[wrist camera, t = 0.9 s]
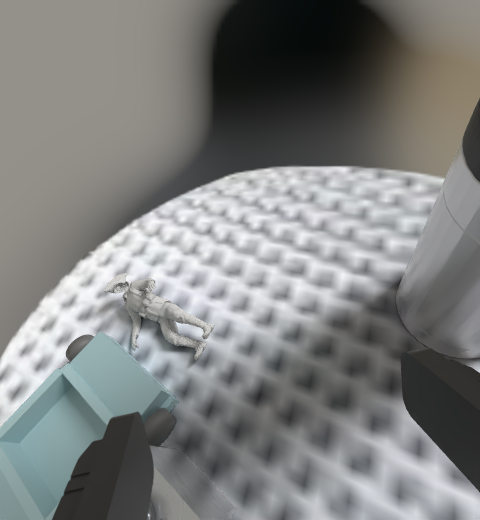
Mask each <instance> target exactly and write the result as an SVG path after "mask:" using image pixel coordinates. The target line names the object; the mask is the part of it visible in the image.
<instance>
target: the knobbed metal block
mask: <svg viewBox="0 0 480 520" xmlns="http://www.w3.org/2000/svg"><path fill="white" fill-rule="evenodd" d="M150 449H151V452H152V457H153V464H154V479H153V486H152V493H151V500H150V507H149V513H148V520H230V519H231V517H232V516H233V514H234V512H235V511H236V509H237V507H236V506H235V505H234V504H233V503H232V502H231V501H230V500H229V499H228V498H227V497H226V496H225V495H224V494H223V493H222V492H221V491H220V490H219V488H218V487H217V486H216V485H215V484H214V483H213V482H212V481H211V480H210V479H209V478H208V477H207V476H206V475H205V474H204V473H203V472H202V471H201V470H200V469H199V468H198V467H197V465H196V464H195V463H194V462H193V461H192V460H191V459H190V458H189V457H188V456H187V455H186V454H185V453H184V452H183V451H180V450H174V449H168V448H162V447H157V446H151V445H150Z"/></svg>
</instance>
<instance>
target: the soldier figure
mask: <svg viewBox="0 0 480 520" xmlns="http://www.w3.org/2000/svg"><path fill="white" fill-rule="evenodd" d="M125 277H126V273H124V274H121V275H118V276H116V277H115V278H114V279H112V281H111V282H109V283H108V285H107V287H106V289H105V292H111V293H122V292H124V291H125V293H124V295H123V301H124V302H125V308H126V309H127V311H128V313H129V315H130V316H131V318H132V321H133V330H132V339H131V340H132V342H131V346H132V349H133V351H135V349H136V348H135V347H136V346H137V347H139V346H138V344H137V341H136V338H137V337H138V336H139V331H140V327H141V317H143V318H145V319H146V318H148V319H150V320H153V321H155V322H156V323H160V326H161V331H162V333H163V335H164V337H165V339H166V340H167V341H168V342H170V343H172V344H174V345H176V346H188V347H191V348H195V350H196V354H195V355H194V359H195V360H197V359H198V358H199V357H200V356H201V354H202V351H204V349H205V347H206V343H204V342H198V341H196V340H193V339H190V338H187V337H185V336H183V335H178V333H177V332H178V329H177V325H176V322H178V323H185V324H190V325H194V326H197V327H201V328H202V329H203V331H204V334H203V335H202V337H203V339H207V338H208V337H209V335H210V332H212V331H213V328H214V325H212V324H210V323H205V322H203V321H202V320H200V319H198V318H196V317H195V316H193V315H190V314H187V313H186V312H184V311H183V310H181V309H180V308H179V307H178V306H177V305H175V304H172V303H171V301H169V300H167V299H164V298H160V297H157V296H156V295H154V294H152V293H150V292H152V288H153V289H154V287H156V285H155V281H154V280H153V279H151V278H148V279H143V280H139V281H133V282H132V283H131V284H130V287H128V286H129V283H128V282H127V281H126V280H125ZM146 288H148V289H149V291H150V292H149V291H148V290H147V289H146ZM168 319H169V320H168ZM175 321H176V322H175ZM134 346H135V347H134Z"/></svg>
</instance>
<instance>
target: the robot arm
mask: <svg viewBox="0 0 480 520" xmlns="http://www.w3.org/2000/svg"><path fill="white" fill-rule="evenodd" d="M396 305H397V310H398V314H399V316H400V318H401V320H402V323H403V324H404V325H405V327H406V328H407V329H408V331H409V332H410V333H411V334H412V335H413V336H414V337H415V338H416V339H417V340H418V341H419V342H421V343H422V344H424V345H425V346H427V347H429V348H423V349H418V350H414V351H409V352H405V353H403V354H402V356H401V372H402V391H403V400H404V403H405V406H406V409H407V411H408V412H409V414H410V416H411V417H412V418H413V419H414V421H415V422H416V423H417V424H418V425H419V426H420V427H421V428H422V429H423V430H424V431H425V433H426V434H427V435H428V436H429V437H430V438H431V439H432V440H433V441H434V442H435V444H436V445H437V446H438V447H439V448H440V449H441V450H442V451H443V452H444V453H445V454H446V456H447V457H448V458H449V459H450V460H451V461H452V462H453V463H454V464H455V465H456V467H457V468H458V469H459V470H460V471H461V472H462V473H463V474H464V475H465V476H466V477H467V479H468V480H469V481H470V482H471V483H472V484H473V485H474V486H475V487H476V488H477V489H478V491H479V492H480V373H479V372H477V371H476V370H474V369H473V368H471V367H468V366H466V365H463V364H461V363H458V362H455V361H453V360H449V361H448V360H447V359H445V358H444V357H443V356H441V355H440V354H438V353H437V352H439V353H441V354H444V355H448V356H452V357H455V358H467V359H471V358H480V99H479V101H478V103H477V105H476V107H475V110H474V112H473V114H472V116H471V119H470V121H469V124H468V126H467V128H466V131H465V133H464V136H463V139H462V141H461V143H460V146H459V148H458V150H457V153H456V155H455V157H454V159H453V162H452V164H451V166H450V169H449V171H448V173H447V176H446V178H445V181H444V183H443V186H442V188H441V190H440V193H439V195H438V197H437V199H436V202H435V204H434V206H433V209H432V211H431V213H430V216H429V218H428V220H427V223H426V225H425V227H424V229H423V232H422V234H421V236H420V239H419V241H418V243H417V246H416V248H415V250H414V252H413V255H412V257H411V259H410V262H409V264H408V266H407V268H406V271H405V273H404V275H403V278H402V280H401V282H400V285H399V287H398V291H397V294H396ZM435 351H437V352H435ZM70 477H71V479H70V480H69V481H68V483H67V486H66V488H65V490H64V496H62V497H61V500H60V502H59V504H58V506H57V509H56V511H55V513H54V516H53V518H52V520H148V513H149V507H150V500H151V493H152V486H153V479H154V464H153V457H152V452H151V449H150V445H149V442H148V438H147V435H146V431H145V428H144V424H143V420H142V417H141V415H140V413H139V412H134V413H129V414H125V415H120V416H116V417H112V418H111V419H110V420H109V423H108V425H107V428H106V431H105V433H104V436H103V439H101V440H96V441H93V442H92V443H91V444H90V445H89V446H88V447H87V449H86V450H85V451H84V452H83V453H82V455H81V456H80V457H79V458H78V460H77V463H76V465H75V467H74V470H73V472H72V474H71V476H70Z"/></svg>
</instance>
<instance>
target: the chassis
mask: <svg viewBox="0 0 480 520" xmlns="http://www.w3.org/2000/svg"><path fill="white" fill-rule="evenodd" d="M66 357H67V359H68V360H69V361H70V363H69V364H68V363H67V364H66V365H65V366H64V367H63V368H62V369H60V368H57V369H56V370H55V371H54V372H53V373H52V374H51V375H50V376H49V377H48V378H47V380H46V381H45V382H44V383H43V384H42V385H41V386H40V387H39V388H38V389H37V390H36V391H35V392H34V393H33V394H32V395H31V396H30V397H29V398H28V399H27V400H26V401H25V402H24V403H23V405H22V406H21V407H20V408H19V409H18V410H17V411H16V412H15V413H14V414H13V415H12V416H11V417H10V418H9V419H8V420H7V421H6V422H5V423H4V424H3V425H2V426H1V427H0V520H52V518H53V516H54V513H55V511H56V509H57V506H58V504H59V502H60V500H61V497H62V496H64V490H65V488H66V486H67V483H68V481H69V480H70V479H71V477H70V476H71V474H72V472H73V470H74V467H75V465H76V463H77V460H78V458H79V457H80V456H81V455H82V453H83V452H84V451H85V450H86V449H87V447H88V446H89V445H90V444H91V443H92V442H93V441H96V440H101V439H103V436H104V433H105V431H106V428H107V425H108V423H109V420H110V419H111V418H112V417H116V416H120V415H125V414H129V413H134V412H139V413H140V415H141V417H142V420H143V424H144V428H145V431H146V435H147V438H148V442H149V445H151V446H159V445H160V444H161V443H162V442H163V441H164V440H165V439H166V438H167V437H168V436H169V434H170V433H171V431H172V430H173V428H174V426H175V424H176V418H175V417H174V416H173V415H172V414H171V413H170V412H171V411H172V409H173V408H174V407H175V406H176V404H177V403H178V402H179V400H177V399H176V398H175V397H174V396H173V395H172V394H171V393H170V392H169V391H168V390H167V389H166V388H165V387H164V386H163V385H162V384H161V383H160V382H158V381H157V380H156V379H155V378H154V377H153V376H152V375H151V374H150V373H149V372H148V371H147V370H146V369H145V368H144V367H143V366H142V365H141V364H140V363H138V362H137V361H136V360H135V359H134V358H133V357H132V356H131V355H130V354H129V353H128V352H127V351H126V350H125V349H124V348H123V347H122V346H121V345H120V344H118V343H117V342H116V341H115V340H114V339H113V338H111V337H110V336H107V335H105V334H104V333H102V332H101V331H100V332H99V333H98V334H97V335H96V336H95V337H93V336H92V335H83V336H80V337H79V338H77V339H75V340H74V341H73V342H72V343H71V344H70V345H69V347H68V349H67V351H66Z"/></svg>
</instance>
